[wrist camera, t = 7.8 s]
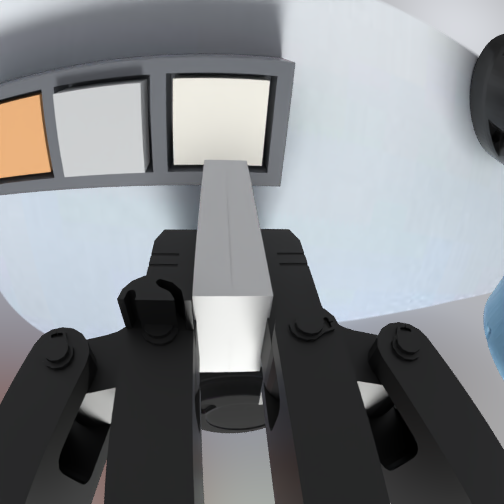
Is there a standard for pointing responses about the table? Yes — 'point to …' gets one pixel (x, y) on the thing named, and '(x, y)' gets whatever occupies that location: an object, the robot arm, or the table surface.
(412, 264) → the table surface
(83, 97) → the key grey
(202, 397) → the coffee cup
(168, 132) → the keypad
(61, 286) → the table surface
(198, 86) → the key cream
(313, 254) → the table surface
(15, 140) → the key orange
